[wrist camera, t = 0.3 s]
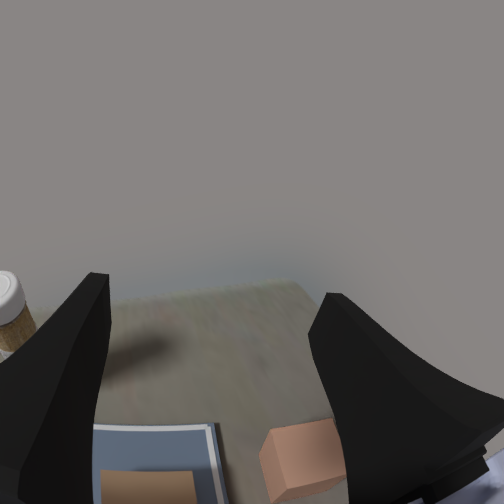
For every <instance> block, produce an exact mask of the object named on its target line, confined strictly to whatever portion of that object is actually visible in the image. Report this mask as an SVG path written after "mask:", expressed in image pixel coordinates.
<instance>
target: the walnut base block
mask: <svg viewBox="0 0 504 504" xmlns="http://www.w3.org/2000/svg"><path fill="white" fill-rule="evenodd" d="M100 475H101V504H197V499H196V492H195V486H194V479H193V473H192V471H170V472H138V471H114V470H100Z"/></svg>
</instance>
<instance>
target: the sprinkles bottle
mask: <svg viewBox="0 0 504 504" xmlns="http://www.w3.org/2000/svg"><path fill="white" fill-rule="evenodd" d="M37 330H38V328H37V326H36V323H35V322H34V321H33V318H32V316H31V314H30V312H29V309H28V307H27V305H26V300H25V295H24V291H23V289H22V286H21V284H20V281H19V279H18V277H17V276H16V275H15V274H13V273H11V272H9V271H0V352H1V354H2V356H3V357H4V359H7V358H8V357H9V356H10V355H11V354H13V353H14V352H15V351H16V350H17V349H18V348H19V347H21V346H22V345H23V344H24V343H25V342H26V341H27V340H28V339H29V338H30V337H31V336H32V335H33V334H34V333H35V332H36V331H37Z"/></svg>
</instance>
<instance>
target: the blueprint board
mask: <svg viewBox="0 0 504 504" xmlns="http://www.w3.org/2000/svg"><path fill="white" fill-rule="evenodd" d="M100 470H114V471H138V472H170V471H192V473H193V479H194V486H195V492H196V499H197V504H229V502H228V498H227V493H226V488H225V483H224V478H223V472H222V467H221V462H220V456H219V451H218V445H217V439H216V433H215V427H214V423H202V424H182V425H115V424H96V423H94V426H93V447H92V481H93V501H94V504H101V475H100Z"/></svg>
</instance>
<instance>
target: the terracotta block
mask: <svg viewBox="0 0 504 504" xmlns="http://www.w3.org/2000/svg"><path fill="white" fill-rule="evenodd" d="M259 458H260V462H261V466H262V470H263V474H264V478H265V482H266V486H267V489H268V493H269V497H270V501H271V504H272V503H277V502H282V501H287V500H291V499H296V498H300V497H305V496H309V495H313V494H316V493H320V492H324V491H327V490H328V489H330V488H331V487H333V486H334V485H336V484H337V483H338V482H340V481H341V480H343V479H344V478H345V477H347V475H346V468H345V461H344V456H343V450H342V445H341V440H340V437H339V435H338V432H337V429H336V427H335V424H334V422H333V419H332V418H328V419H324V420H319V421H314V422H309V423H304V424H299V425H293V426H287V427H281V428H275V429H270V431H269V434H268V436H267V438H266V440H265V442H264V444H263V446H262V449H261V451H260V453H259Z"/></svg>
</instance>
